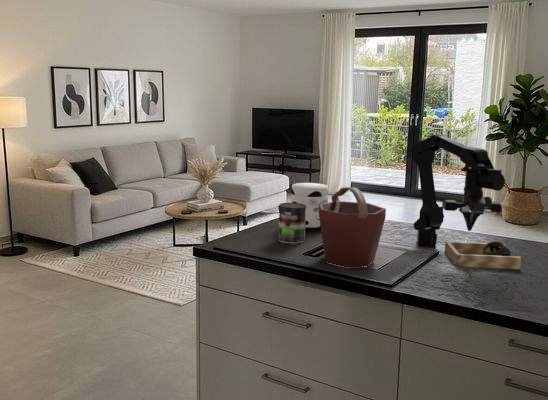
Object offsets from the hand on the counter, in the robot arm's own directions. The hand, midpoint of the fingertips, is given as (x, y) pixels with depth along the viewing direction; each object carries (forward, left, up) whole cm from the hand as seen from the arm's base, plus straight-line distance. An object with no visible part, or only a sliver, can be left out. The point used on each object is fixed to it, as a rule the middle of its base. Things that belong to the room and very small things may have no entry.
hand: (469, 230), depth 190 cm
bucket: (-41, -8, -11) cm, 43 cm away
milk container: (-56, +39, -11) cm, 69 cm away
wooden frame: (+5, 0, -10) cm, 12 cm away
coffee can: (-62, +15, -11) cm, 65 cm away
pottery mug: (+10, 0, -11) cm, 15 cm away
